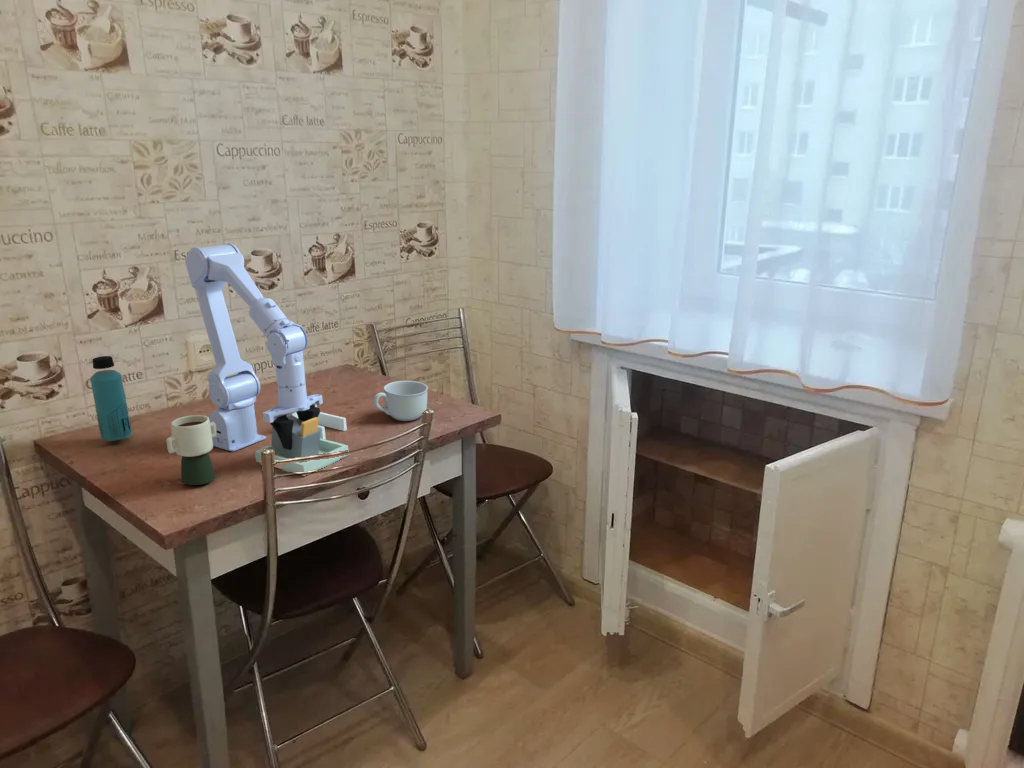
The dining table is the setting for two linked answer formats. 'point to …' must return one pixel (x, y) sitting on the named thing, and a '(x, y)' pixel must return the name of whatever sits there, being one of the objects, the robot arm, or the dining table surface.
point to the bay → (328, 422)
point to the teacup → (403, 400)
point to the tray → (310, 465)
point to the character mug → (193, 447)
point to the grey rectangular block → (300, 438)
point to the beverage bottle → (110, 401)
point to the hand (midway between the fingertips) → (297, 444)
